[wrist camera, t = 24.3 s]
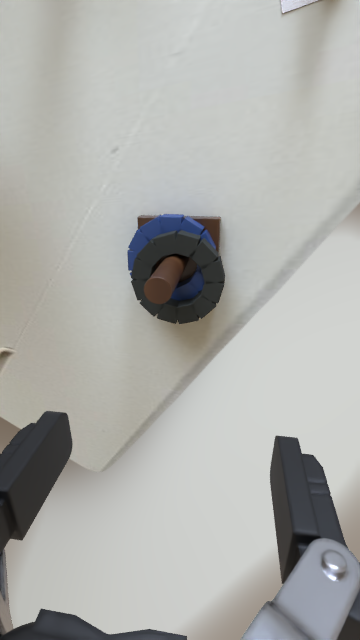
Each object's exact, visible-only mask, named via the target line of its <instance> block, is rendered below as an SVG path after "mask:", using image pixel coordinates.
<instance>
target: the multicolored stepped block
mask: <svg viewBox="0 0 360 640" xmlns="http://www.w3.org/2000/svg"><path fill="white" fill-rule="evenodd" d="M315 1H318V0H281V6H282V13H285V12H287V11H290V10H293V9H296V8H298V7H301V6H304V5H307V4H310V3H312V2H315Z"/></svg>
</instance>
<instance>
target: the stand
mask: <svg viewBox="0 0 360 640" xmlns="http://www.w3.org/2000/svg"><path fill="white" fill-rule="evenodd" d="M156 217H158V216H150V215H141V216H139V217H138V229H140V227H141V226H143V225H144V224H146V223H148V222H149V221H151V220H153V219H155V218H156ZM186 217H187V216H184V219H185V218H186ZM189 217H190V218H192V219H193V220H195V221H196V222H198V223H200V224H201V225H203V226H204V229H203V231H205V230H208V232H209V234H210V236H211V238H212V240H213V242H214V244H215V246H216V251H217V252H218V256H219V238H220V217H200V216H189ZM203 231H202V232H203ZM196 269H197V264H196V263H195V262H194V261H193V260H192V259H191V258H190V257H187V256H183V255H180V254H172V255H168V256H164V257H162V258H161V259H160V260H159V261H158V262H157V263H156V266H155V271H154V273H153V274H152V275H151V277H150V278H149V279H148V281H147V282H146V283H145V286H144V293H145V296H146V297H147V299H148V300H149V301H151V302H152V303H155V304H163V303H166V302H167V301H168V300H169V299H170V298H171V296H172V294H173V292H174V290H175V288H176V286H177V284H178V283H180V282H182V281H184V280H186V279H188V278H190V277H192V275H193V274H194V272H195V271H196Z"/></svg>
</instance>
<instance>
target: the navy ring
mask: <svg viewBox="0 0 360 640" xmlns="http://www.w3.org/2000/svg"><path fill="white" fill-rule="evenodd" d="M203 229H204V226H203V225H201V224H200V223H198V222H196V221H195V220H193V219H192V218H190V217H189V216H187V217H186V218H185V219H184V215H178V214H164V215H162V216H161V215H160V216H158V217H156V218H155V219H153V220H151V221H149V222H148V223H146V224H144V225H143V226H141V227H140V229H138V230H137V231H136V233H135V235H134V237H133V239H132V241H131V243H130V245H129V247H128V248H130V250H128V268H129V270H131V271H132V270H133V265H134V260H135V258H136V257H137V256H136V255H137V254H138V253H139V252H140V251H141V250H142V249H143V248H144V246H145V245H146V244H147V243H148V242H149V241H150V240H151V239H152V238H154V237H156V236H157V235H160V234H164V233H167V232H171V231H175V230H177V232H179V231H180V230H183V231H186V232H190V233H193V234H197V235H200V236H201V238H200V241H201V240H202V239H203V238H205V239H206V240H207V241H208V242H209V243H210V244H211V245H212V246H213V247H214V249H215V250H216V246H215V244H214V242H213V240H212V238H211V236H210V234H209V232H208V230H205V231H203ZM202 231H203V232H202ZM200 241H199V242H200ZM130 275H132V272H131V273H130ZM203 285H204V278H203V274H202V270H201V268H200V267H199V266H198V265H197V269H196V271H195V272H194V274H193V275H192V277H190V278H188V279H186V280H184V281H182V282H180V283H178V284H177V286H176V288H175V290H174V292H173V294H172V296H171V298H172V299H175V300H179V301H181V300H186V299H191V298H193V297H194V296H196V295H197V294H198V293H199V292H200V291H201V290H202V289H203Z"/></svg>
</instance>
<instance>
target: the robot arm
mask: <svg viewBox="0 0 360 640" xmlns="http://www.w3.org/2000/svg"><path fill="white" fill-rule="evenodd" d="M71 451H72V438H71V432H70V426H69V420H68V415H67V414H66V413H62V412H53V411H46V412H45V413H44V414H43V415H42V416H41V417H40V419H39V420H38V421H37V423H30V424H29V425H27V426H26V427H25V428H23V429H22V430H20V431H19V432H18V433H17V434H16V435H15V437H14V438H13V439H12V440H11V442H10V444H9V445H7V446H6V448H5V449H4V450H3V452H2V454H0V640H187V636H183V635H178V634H172V633H167V632H162V631H157V630H151V629H147V630H140V631H133V632H126V633H119V634H111V635H110V634H106V633H104V632H102V631H101V630H99V629H97V628H96V627H94V626H92V625H91V624H89V623H87V622H86V621H84V620H82V619H81V618H79V617H77V616H75V615H72V614H66V613H61V612H56V611H50V610H45V609H41V610H40V612H39V614H38V617H37V619H36V621H35V622H32V623H28V624H25V625H22V626H20V627H17V628H15V629H13V625H12V620H11V616H10V610H9V598H8V584H7V570H6V557H5V550H4V548H5V546H6V544H7V542H8V541H9V539H17V540H23V538H24V537H25V535H26V533H27V531H28V529H29V528H30V526H31V524H32V523H33V521H34V519H35V517H36V516H37V514H38V512H39V510H40V509H41V507H42V505H43V503H44V501H45V500H46V498H47V496H48V494H49V493H50V491H51V489H52V487H53V486H54V484H55V482H56V480H57V478H58V477H59V475H60V473H61V472H62V470H63V468H64V466H65V465H66V463H67V461H68V459H69V457H70V455H71ZM270 469H271V470H270V483H271V492H272V501H273V510H274V519H275V528H276V536H277V544H278V553H279V562H280V570H281V579H282V584H283V586H282V587H281V589H280V590H279V592H278V593H277V595H276V597H275V598H274V599H273V600H272V601H271V602H270V601H268V602H266V603H265V604H264V606H263V607H262V608H261V610H260V611H259V612H258V614H257V615H256V617H255V618H254V620H253V621H252V623H251V624H250V626H249V627H248V629H247V630H246V632H245V633H244V635H243V637H242V638H241V639H240V640H360V563H359V562H358V560H357V558H356V557H355V556H354V555H353V553H352V552H351V551H349V549H348V547H347V545H346V543H345V540H344V537H343V534H342V531H341V528H340V524H339V520H338V517H337V514H336V511H335V507H334V504H333V500H332V497H331V496H330V490H329V487H328V484H327V480H326V477H325V474H324V470H323V467H322V466H321V465H320V463H319V462H318V461H317V460H316V458H315V457H314V456H313V455H309V454H302V453H301V449H300V445H299V441H298V439H297V438H293V437H284V436H276V437H275V442H274V448H273V455H272V462H271V468H270Z"/></svg>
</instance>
